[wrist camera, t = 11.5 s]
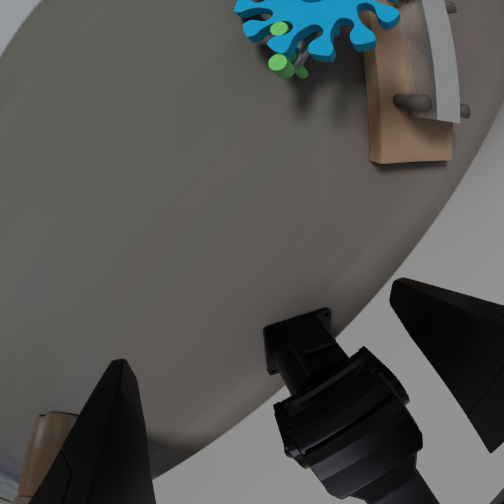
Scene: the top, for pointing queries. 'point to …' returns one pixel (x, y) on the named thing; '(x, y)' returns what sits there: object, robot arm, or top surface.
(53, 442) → the plant pot
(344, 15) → the gear
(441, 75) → the ball knob lever
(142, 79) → the top surface
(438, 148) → the peg rack
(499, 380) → the robot arm
